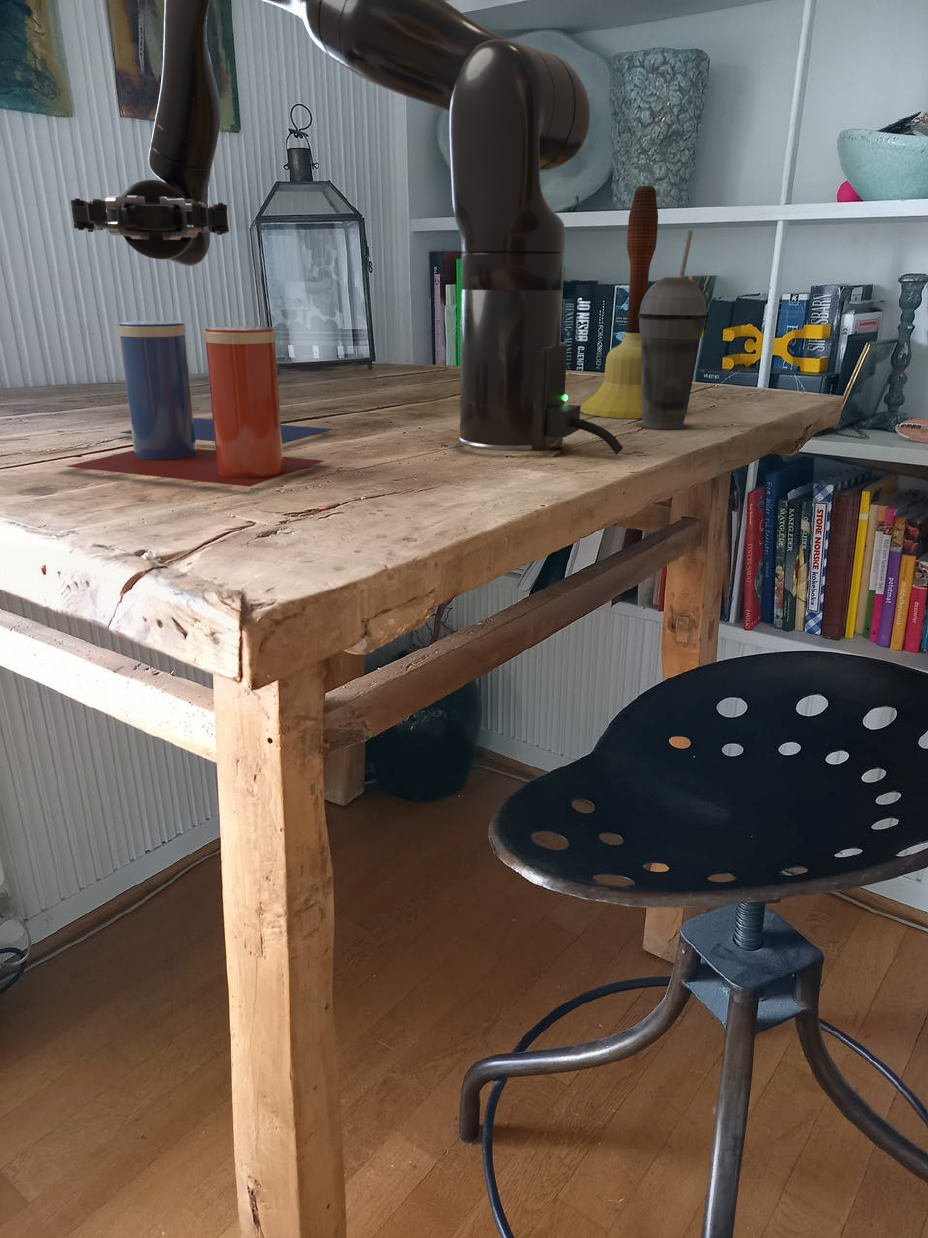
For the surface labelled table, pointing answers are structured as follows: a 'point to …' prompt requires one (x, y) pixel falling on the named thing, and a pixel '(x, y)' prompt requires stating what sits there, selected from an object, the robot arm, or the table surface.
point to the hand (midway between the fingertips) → (148, 213)
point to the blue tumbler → (158, 389)
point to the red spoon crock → (245, 400)
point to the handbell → (630, 318)
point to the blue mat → (288, 433)
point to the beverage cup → (670, 347)
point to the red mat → (185, 467)
